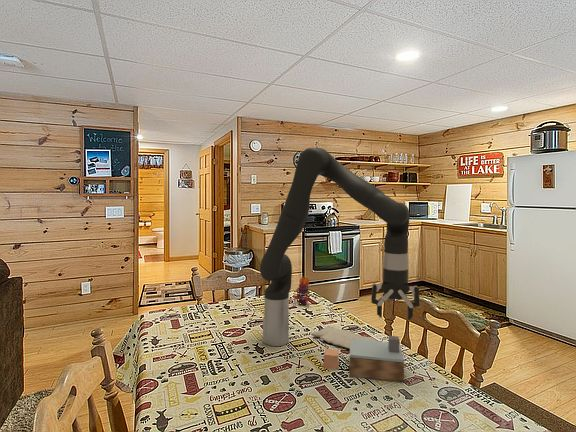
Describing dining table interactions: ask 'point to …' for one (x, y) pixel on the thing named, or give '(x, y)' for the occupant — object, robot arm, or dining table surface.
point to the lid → (377, 349)
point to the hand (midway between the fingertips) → (394, 317)
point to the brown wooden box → (376, 369)
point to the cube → (331, 358)
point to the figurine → (302, 292)
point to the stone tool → (339, 336)
